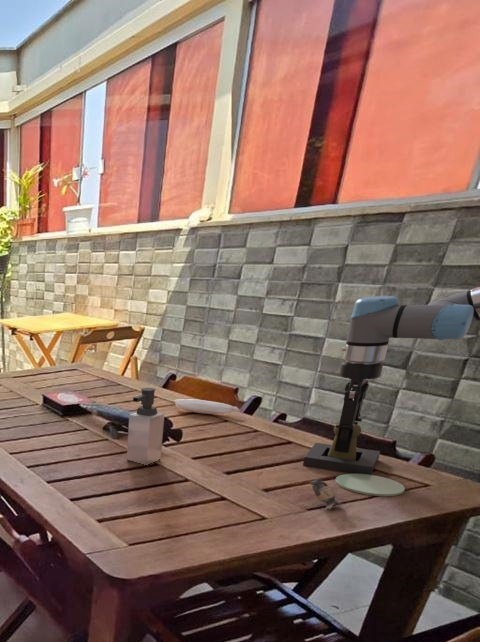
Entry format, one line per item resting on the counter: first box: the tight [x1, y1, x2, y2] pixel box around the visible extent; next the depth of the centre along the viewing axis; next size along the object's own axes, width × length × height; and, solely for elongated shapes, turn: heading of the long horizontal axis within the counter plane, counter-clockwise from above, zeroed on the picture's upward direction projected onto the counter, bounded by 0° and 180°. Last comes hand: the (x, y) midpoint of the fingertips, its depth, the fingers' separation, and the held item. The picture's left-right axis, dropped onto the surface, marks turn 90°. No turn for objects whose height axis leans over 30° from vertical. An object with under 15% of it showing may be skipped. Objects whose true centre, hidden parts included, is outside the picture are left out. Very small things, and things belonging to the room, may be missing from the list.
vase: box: [309, 478, 344, 512], centre depth 112 cm, size 5×5×6 cm
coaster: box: [334, 473, 406, 497], centre depth 118 cm, size 12×12×1 cm
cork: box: [327, 423, 362, 461], centre depth 129 cm, size 6×6×11 cm
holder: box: [302, 442, 381, 475], centre depth 131 cm, size 13×13×2 cm
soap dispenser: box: [126, 387, 165, 466], centre depth 143 cm, size 6×9×22 cm
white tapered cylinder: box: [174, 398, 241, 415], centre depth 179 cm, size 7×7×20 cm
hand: (343, 447), depth 130 cm, fingers closed on cork, 5 cm apart
